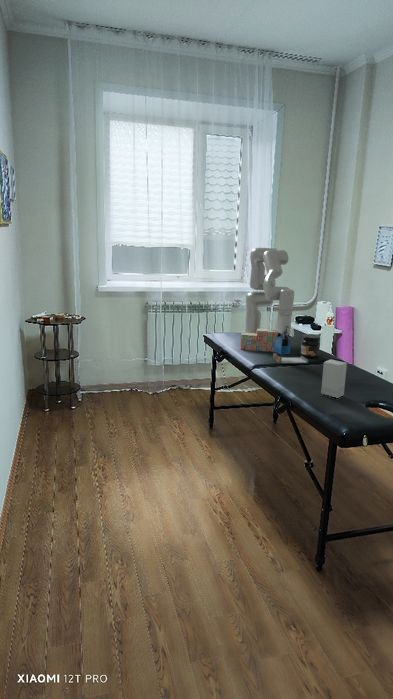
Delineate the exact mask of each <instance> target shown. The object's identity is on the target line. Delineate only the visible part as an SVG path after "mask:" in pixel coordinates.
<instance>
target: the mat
mask: <svg viewBox="0 0 393 699" xmlns="http://www.w3.org/2000/svg"><path fill="white" fill-rule="evenodd" d="M281 358H282V360H281V363H280V364H309V359H308V358H306V357H303V356H301V355H300V357H281Z"/></svg>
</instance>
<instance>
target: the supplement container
mask: <svg viewBox="0 0 393 699" xmlns="http://www.w3.org/2000/svg"><path fill="white" fill-rule="evenodd" d="M320 340H321V336H319V335H317V334H311V333H308V334H303V335H302V340H301V346H300V356H303V357H304V358H306V359H317V358H318V357H319V356H320V347H321V342H320Z"/></svg>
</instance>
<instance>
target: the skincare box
mask: <svg viewBox="0 0 393 699" xmlns="http://www.w3.org/2000/svg"><path fill="white" fill-rule="evenodd" d="M347 366H348V362H345V361H339V360H335V359H328V360H326V361H324V362H323V367H322V380H321V390H320V394H321V393H322V394H325V395H329V396H332V397H336V398H339V397H341V396H343V395H345V387H346V386H345V385H346V378H347V376H346V375H347ZM343 397H344V396H343ZM341 398H342V397H341ZM339 399H340V398H339Z"/></svg>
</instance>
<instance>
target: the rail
mask: <svg viewBox="0 0 393 699" xmlns="http://www.w3.org/2000/svg"><path fill="white" fill-rule="evenodd" d="M272 353H273V354H272V359H273V360H275V362H277V363H278V364H282V363H281V360H282V358H283V357H282V356H280V355H278V353H276V352H272Z"/></svg>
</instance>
